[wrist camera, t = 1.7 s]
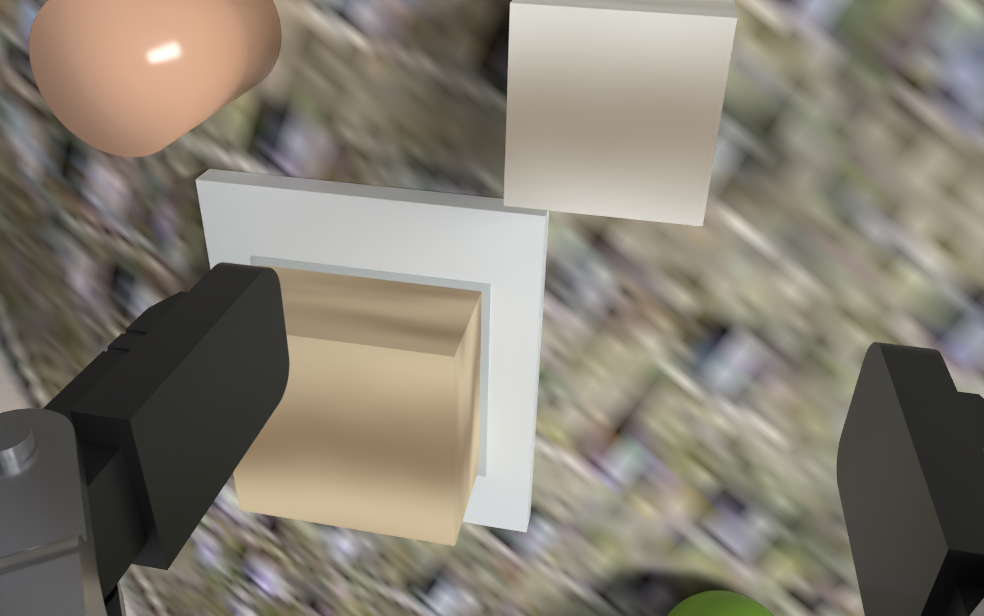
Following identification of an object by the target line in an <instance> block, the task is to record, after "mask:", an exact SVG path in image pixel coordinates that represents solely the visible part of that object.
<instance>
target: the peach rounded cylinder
mask: <svg viewBox="0 0 984 616" xmlns="http://www.w3.org/2000/svg"><path fill="white" fill-rule="evenodd" d="M280 47H281V26H280V19H279V16H278V12H277V9H276V6H275V4H274V2H273V0H49V1H47V2H46V3H45V4H44V5H43V7H42V8H41V9H40V10H39V12H38V14H37V16H36V17H35V19H34V22H33V25H32V28H31V33H30V38H29V55H30V63H31V68H32V72H33V75H34V78H35V81H36V84H37V86H38V88H39V91H40V93H41V95H42V96H43V98H44V100H45V102H46V103H47V105H48V106H49V108H50V109H51V111H52V112H53V113H54V115H55V116H56V117H57V118H58V119H59V121H60V122H61V123H62V124H63V125H64V126H65V127H66V128H67V129H68V130H69V131H71V132H72V133H73V134H74V135H75V136H77V137H78V138H79V139H81V140H82V141H84V142H85V143H87V144H89V145H90V146H92V147H94V148H96V149H98V150H101V151H103V152H105V153H109V154H112V155H116V156H122V157H143V156H147V155H151V154H154V153H156V152H158V151H160V150H162V149H163V148H165V147H166V146H168V145H169V144H171V143H172V142H174V141H175V140H176V139H178V138H179V137H181V136H182V135H184V134H185V133H187V132H188V131H190V130H191V129H193V128H194V127H196V126H197V125H198V124H200V123H201V122H203V121H204V120H206V119H207V118H209V117H210V116H212V115H213V114H215V113H216V112H218V111H219V110H221V109H222V108H223V107H225V106H226V105H228V104H229V103H231V102H232V101H234V100H235V99H237V98H238V97H240V96H241V95H243V94H244V93H245V92H247V91H248V90H250V89H251V88H253V87H254V86H256V85H257V84H259V83H260V82H262V81H263V80H264V79H265V78H266V77H267V76H268V75H269V73H270V72H271V71H272V69H273V67H274V66H275V64H276V61H277V59H278V56H279V52H280Z"/></svg>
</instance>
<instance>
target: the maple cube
mask: <svg viewBox="0 0 984 616" xmlns="http://www.w3.org/2000/svg"><path fill="white" fill-rule="evenodd" d="M736 22H737V15H736V10H735V5H734V0H512V1H511V2H510V20H509V51H508V83H507V114H506V146H505V177H504V206H512V207H521V208H531V209H541V210H550V211H560V212H569V213H579V214H589V215H598V216H608V217H618V218H627V219H637V220H646V221H656V222H666V223H675V224H685V225H695V226H703V221H704V215H705V209H706V202H707V196H708V190H709V184H710V178H711V172H712V166H713V160H714V154H715V148H716V142H717V136H718V130H719V124H720V118H721V112H722V106H723V100H724V94H725V88H726V82H727V76H728V70H729V64H730V58H731V52H732V46H733V40H734V34H735V28H736Z"/></svg>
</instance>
